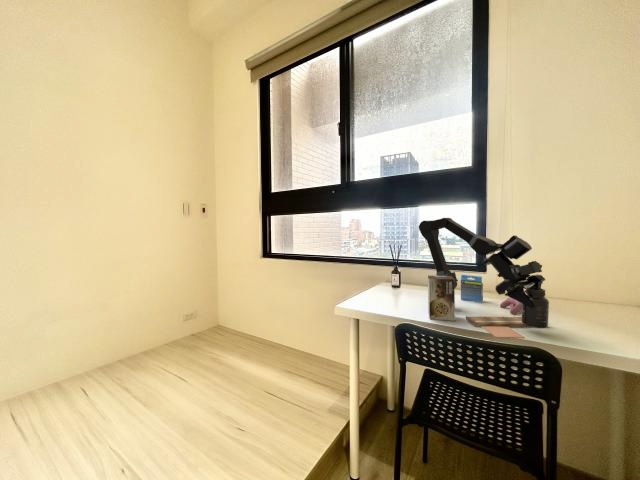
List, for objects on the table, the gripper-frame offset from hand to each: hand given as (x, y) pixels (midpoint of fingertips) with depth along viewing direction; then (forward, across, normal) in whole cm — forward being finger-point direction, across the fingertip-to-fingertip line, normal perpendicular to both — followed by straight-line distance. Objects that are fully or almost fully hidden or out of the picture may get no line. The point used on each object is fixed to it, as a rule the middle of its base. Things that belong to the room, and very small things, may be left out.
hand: (539, 306), depth 84 cm
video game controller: (-6, +16, +19) cm, 26 cm away
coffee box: (-11, -16, +25) cm, 31 cm away
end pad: (+2, -9, +11) cm, 14 cm away
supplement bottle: (+4, 0, +6) cm, 7 cm away
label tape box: (-18, +15, +32) cm, 40 cm away
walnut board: (-1, 0, +14) cm, 14 cm away
